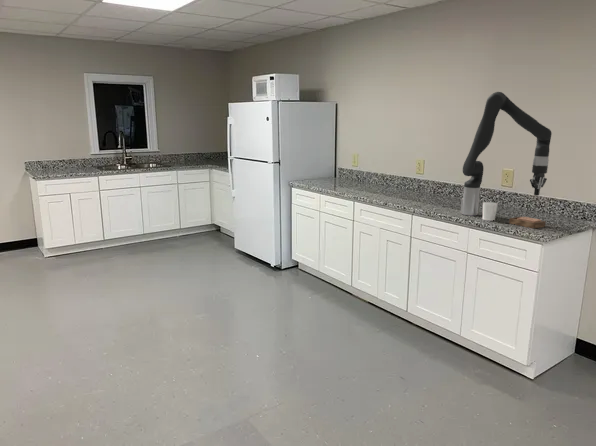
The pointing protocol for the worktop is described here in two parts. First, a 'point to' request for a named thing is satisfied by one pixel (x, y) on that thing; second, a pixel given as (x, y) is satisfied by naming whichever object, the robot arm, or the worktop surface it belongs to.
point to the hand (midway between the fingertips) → (536, 195)
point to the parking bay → (526, 223)
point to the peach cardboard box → (529, 219)
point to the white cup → (489, 211)
